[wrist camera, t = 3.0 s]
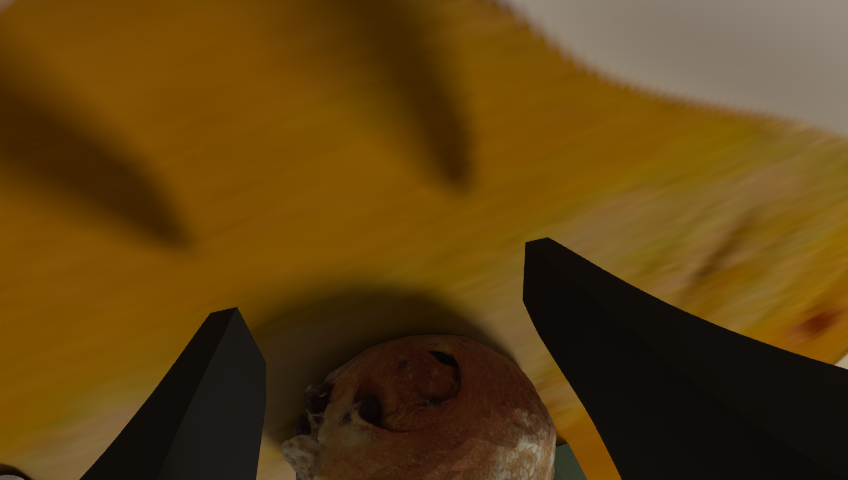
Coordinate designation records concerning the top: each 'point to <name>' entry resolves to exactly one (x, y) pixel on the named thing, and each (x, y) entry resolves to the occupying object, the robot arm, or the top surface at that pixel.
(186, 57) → the top surface
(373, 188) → the top surface
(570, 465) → the teal shallow tray
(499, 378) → the bread roll
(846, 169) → the top surface
